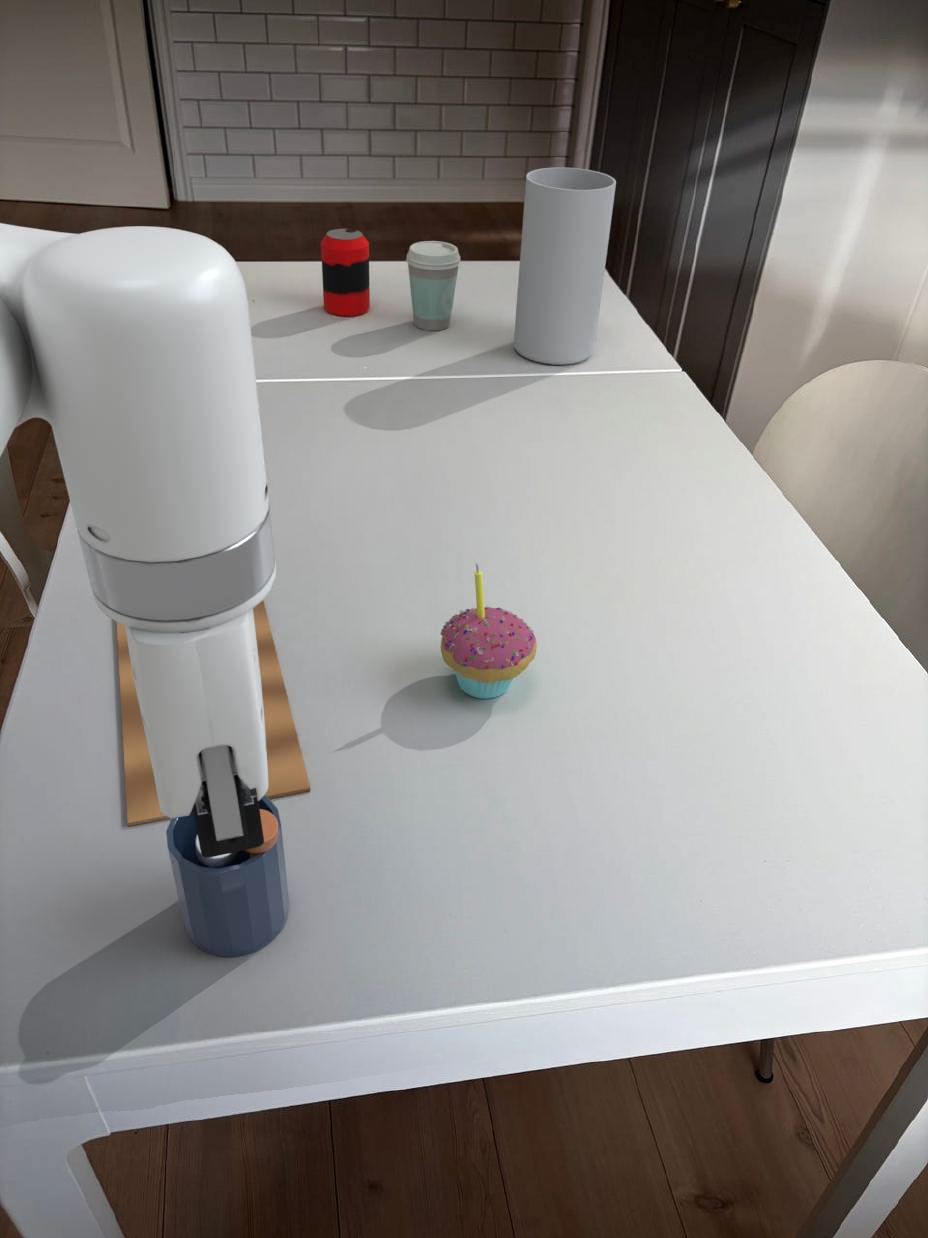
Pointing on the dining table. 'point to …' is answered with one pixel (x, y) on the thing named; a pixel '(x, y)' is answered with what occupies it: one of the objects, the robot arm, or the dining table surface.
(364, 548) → the dining table surface
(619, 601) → the dining table surface
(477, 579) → the cupcake
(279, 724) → the placemat
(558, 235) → the cylinder vase
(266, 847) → the tan cylinder
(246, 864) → the cup
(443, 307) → the coffee cup
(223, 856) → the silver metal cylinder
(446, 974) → the dining table surface
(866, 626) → the dining table surface
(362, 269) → the soda can
